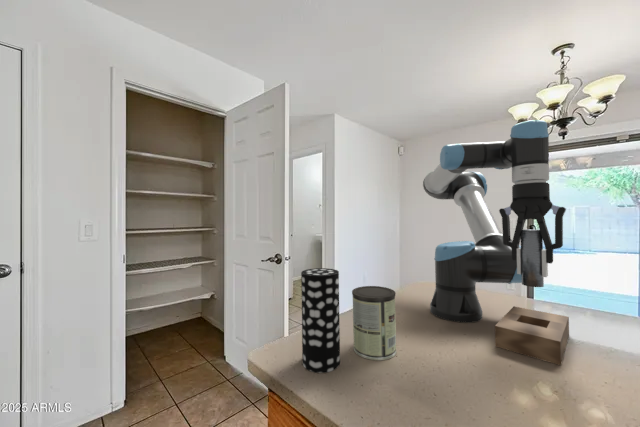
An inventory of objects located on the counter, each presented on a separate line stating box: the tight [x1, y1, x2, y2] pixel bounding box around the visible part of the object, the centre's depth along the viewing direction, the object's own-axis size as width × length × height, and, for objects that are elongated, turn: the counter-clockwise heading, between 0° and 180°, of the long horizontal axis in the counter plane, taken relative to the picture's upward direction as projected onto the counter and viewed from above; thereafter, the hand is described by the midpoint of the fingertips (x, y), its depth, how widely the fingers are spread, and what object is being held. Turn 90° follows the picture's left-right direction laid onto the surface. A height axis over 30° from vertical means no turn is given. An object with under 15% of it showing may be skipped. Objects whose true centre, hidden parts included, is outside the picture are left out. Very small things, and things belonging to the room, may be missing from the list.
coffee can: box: [351, 285, 397, 361], centre depth 65 cm, size 10×10×14 cm
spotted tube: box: [300, 267, 341, 374], centre depth 60 cm, size 8×8×20 cm
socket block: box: [494, 305, 570, 366], centre depth 69 cm, size 12×20×5 cm, turn 134°
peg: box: [520, 228, 545, 288], centre depth 69 cm, size 4×4×14 cm
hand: (532, 274), depth 69 cm, fingers closed on peg, 4 cm apart
